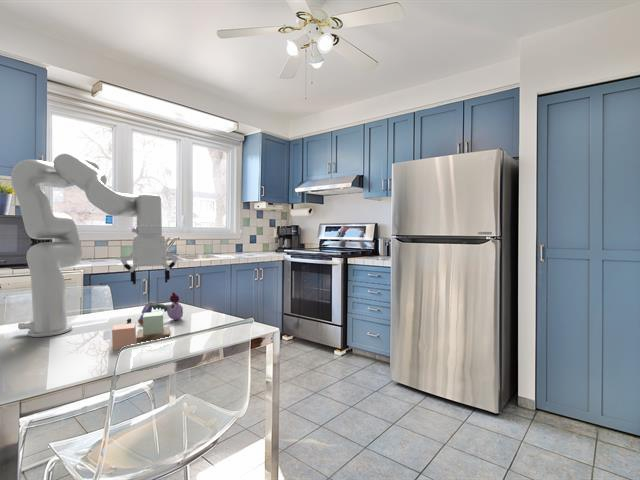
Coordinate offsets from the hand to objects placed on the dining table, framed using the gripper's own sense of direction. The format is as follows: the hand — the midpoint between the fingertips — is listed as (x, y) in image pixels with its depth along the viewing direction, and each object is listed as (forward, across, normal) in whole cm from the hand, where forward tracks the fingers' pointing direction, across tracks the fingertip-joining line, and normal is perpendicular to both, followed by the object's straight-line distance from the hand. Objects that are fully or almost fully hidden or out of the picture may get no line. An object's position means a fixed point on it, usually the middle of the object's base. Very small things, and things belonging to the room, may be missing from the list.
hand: (150, 282), depth 122 cm
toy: (+18, +3, +22) cm, 28 cm away
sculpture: (+19, -7, +15) cm, 25 cm away
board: (+18, +1, 0) cm, 18 cm away
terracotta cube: (+18, -8, -6) cm, 21 cm away
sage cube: (+17, +1, 0) cm, 17 cm away
